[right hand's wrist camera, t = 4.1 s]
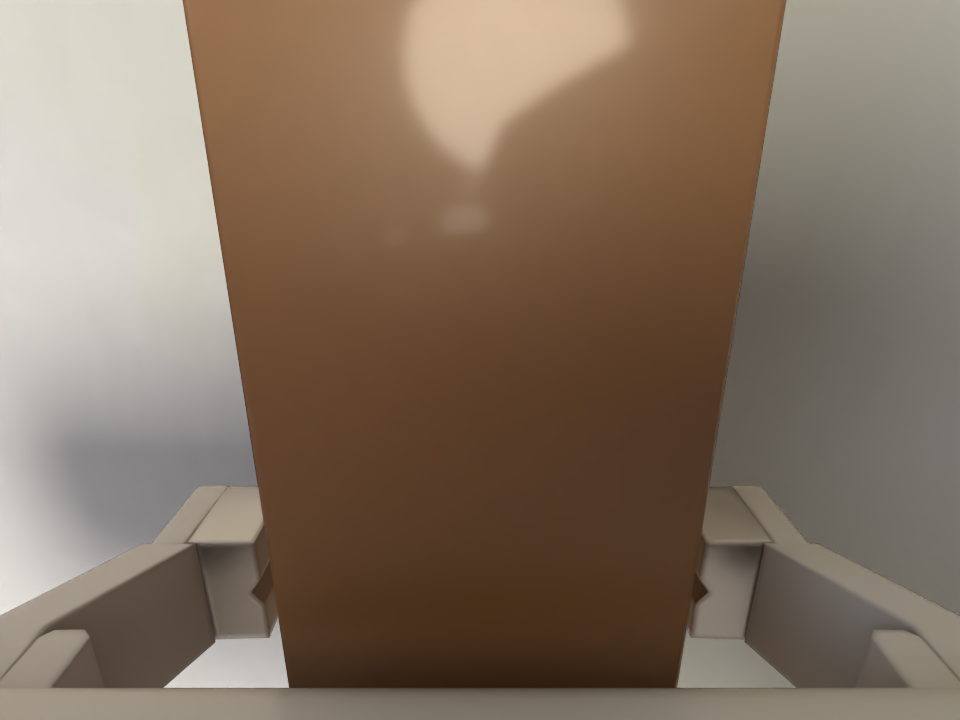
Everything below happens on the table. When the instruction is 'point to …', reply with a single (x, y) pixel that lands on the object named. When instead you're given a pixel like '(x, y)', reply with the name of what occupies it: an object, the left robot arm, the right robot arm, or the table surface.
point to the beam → (483, 319)
